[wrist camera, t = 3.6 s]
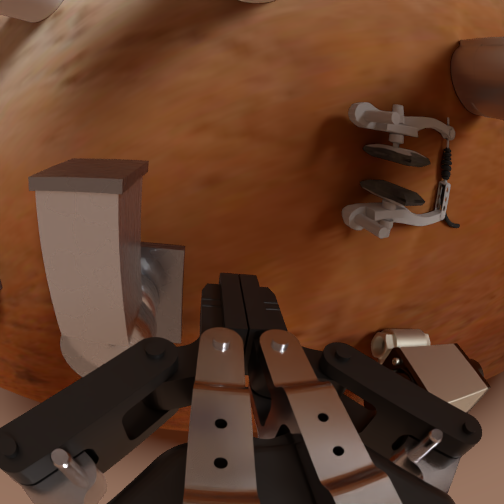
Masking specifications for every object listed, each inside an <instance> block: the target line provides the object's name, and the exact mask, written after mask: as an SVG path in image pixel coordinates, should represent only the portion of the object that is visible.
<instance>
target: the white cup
mask: <svg viewBox="0 0 504 504" xmlns="http://www.w3.org/2000/svg"><path fill="white" fill-rule="evenodd" d="M62 2H63V0H0V15H4V16H8V17H12V18H16V19H20V20H24V21H28V22H31V23H34V22H39V21H41V20H43V19H45V18H47V17H48V16H50V15H51V14H52V13H53V12H54V11H55V10H56V9H57V8H58V7H59V5H60V4H61V3H62Z"/></svg>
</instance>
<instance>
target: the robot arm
mask: <svg viewBox="0 0 504 504" xmlns="http://www.w3.org/2000/svg"><path fill="white" fill-rule="evenodd" d="M451 76H452V81H453V85H454V88H455V91H456V93H457V95H458V98H459V99H460V101H461V103H462V104H463V105H464V107H465V108H466V109H467V110H468V111H469V112H471V113H473V114H475V115H480V116H484V117H489V118H496V119H500V120H504V37H489V38H476V39H466V40H460V46H459V48H457V49H456V50H455V52H454V54H453V56H452V60H451ZM245 375H249V385H248V387H245ZM346 388H347V389H348V390H350V391H351V392H353V393H354V394H356V395H358V396H359V397H361V398H362V399H364V400H366V401H367V402H369V403H370V404H372V405H373V406H374V407H375V408H376V410H375V411H371V410H368V409H366V408H365V407H363V406H362V405H360V404H358V403H357V402H355V401H354V400H352V399H351V398H349V397H347V396H346V395H344V394H343V393H344V392H345V390H346ZM250 403H251V405H250ZM190 405H191V414H190V425H189V436H188V443H184V444H181V445H178V446H176V447H173V448H171V449H169V450H167V451H166V452H164V453H163V454H161V455H160V456H159V457H157V458H156V459H155V460H154V461H153V462H152V463H151V464H150V465H149V466H148V467H147V468H146V469H145V470H144V471H143V472H142V473H141V474H139V475H138V476H137V477H136V478H135V479H134V480H133V481H132V482H131V483H130V484H129V485H128V486H126V487H125V488H124V489H123V490H122V491H121V492H120V493H119V494H117V496H115V497H114V498H113V499H112V500H111V501H110V502H108V503H107V504H455V502H454V501H453V499H452V498H451V497H450V496H449V495H448V494H447V493H448V491H449V488H450V485H451V483H452V480H453V478H454V475H455V472H456V469H457V466H458V463H459V460H460V458H461V457H462V456H463V455H464V454H465V453H466V452H467V451H469V450H470V449H471V448H472V447H473V446H474V445H475V444H477V443H478V442H479V441H480V439H481V437H482V429H481V426H480V424H479V422H478V421H477V420H476V418H474V417H473V416H471V415H470V414H468V413H466V412H464V411H462V410H460V409H459V408H457V407H455V406H453V405H451V404H450V403H448V402H446V401H444V400H442V399H441V398H439V397H437V396H435V395H433V394H432V393H430V392H428V391H426V390H425V389H423V388H421V387H419V386H418V385H416V384H414V383H412V382H411V381H409V380H407V379H405V378H404V377H402V376H400V375H399V374H397V373H395V372H393V371H392V370H390V369H388V368H387V367H385V366H383V365H381V364H380V363H378V362H376V361H375V360H373V359H371V358H370V357H368V356H366V355H365V354H363V353H361V352H360V351H358V350H356V349H355V348H353V347H351V346H349V345H347V344H344V343H337V342H336V343H331V344H328V345H327V346H326V347H325V348H324V351H318V350H313V349H309V348H305V347H302V346H301V344H300V342H299V340H298V339H297V338H296V337H295V336H294V335H293V334H291V333H289V332H288V331H287V328H286V325H285V322H284V320H283V317H282V314H281V311H280V308H279V305H278V304H277V300H276V297H275V294H274V293H273V292H272V291H271V290H270V289H269V288H268V287H259V283H258V279H257V276H256V275H246V274H239V275H238V274H231V273H220V278H219V284H207V285H206V286H205V287H204V288H203V290H202V299H201V313H200V337H199V338H198V339H197V340H196V341H195V342H193V343H191V344H189V345H185V346H180V347H176V346H175V345H174V344H173V343H172V342H171V341H169V340H167V339H165V338H161V337H149V338H145V339H143V340H141V341H139V342H138V343H136V344H134V345H133V346H131V347H130V348H128V349H127V350H125V351H123V352H122V353H120V354H119V355H117V356H116V357H114V358H112V359H111V360H109V361H108V362H106V363H105V364H103V365H101V366H100V367H98V368H97V369H95V370H93V371H92V372H90V373H89V374H87V375H86V376H84V377H82V378H81V379H79V380H78V381H76V382H74V383H73V384H71V385H70V386H68V387H66V388H65V389H63V390H62V391H60V392H58V393H57V394H55V395H53V396H52V397H50V398H49V399H47V400H45V401H44V402H42V403H41V404H39V405H37V406H36V407H34V408H32V409H31V410H29V411H27V412H26V413H24V414H23V415H21V416H19V417H18V418H16V419H14V420H13V421H11V422H9V423H8V424H6V425H4V426H3V427H1V428H0V468H1V469H2V470H3V471H4V472H5V473H7V474H8V475H9V476H10V477H11V478H12V479H13V480H14V481H15V482H16V483H18V484H19V485H21V486H22V488H23V489H24V490H25V492H26V493H27V495H28V496H29V497H30V499H31V500H32V502H33V503H34V504H98V502H99V500H100V499H101V498H102V497H103V496H104V494H105V493H106V489H107V482H106V479H105V476H104V475H103V473H104V472H106V471H107V470H108V469H110V468H111V467H112V466H113V465H114V464H116V463H117V462H118V461H120V460H121V459H122V458H123V457H125V456H126V455H127V454H128V453H129V452H131V451H132V450H133V449H134V448H135V447H137V446H138V445H139V444H140V443H142V442H143V441H144V440H145V439H146V438H148V437H149V436H150V435H151V434H152V433H153V432H154V431H156V430H157V429H158V428H159V427H160V426H162V425H163V424H164V423H165V422H166V421H167V420H168V419H169V418H171V417H172V416H173V415H174V414H175V413H176V412H177V411H178V409H179V408H181V407H186V406H190ZM251 407H252V411H253V415H254V419H255V422H256V426H257V430H258V438H255V437H253V434H252V420H251Z"/></svg>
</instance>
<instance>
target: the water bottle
mask: <svg viewBox="0 0 504 504" xmlns="http://www.w3.org/2000/svg"><path fill="white" fill-rule="evenodd" d="M239 1H243V2H248V3H266V2H271V1H275V0H239Z"/></svg>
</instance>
